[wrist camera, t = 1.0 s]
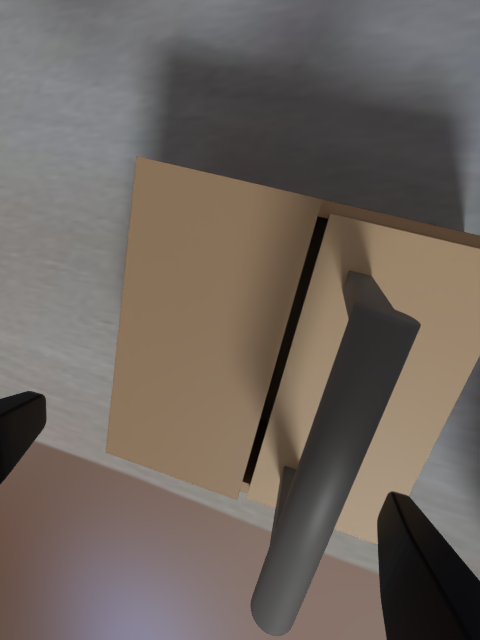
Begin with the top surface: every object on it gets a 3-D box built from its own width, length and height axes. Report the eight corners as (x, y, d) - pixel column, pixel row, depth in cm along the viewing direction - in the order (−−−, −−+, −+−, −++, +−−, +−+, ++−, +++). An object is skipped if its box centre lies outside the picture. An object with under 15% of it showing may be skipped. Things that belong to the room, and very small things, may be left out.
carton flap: (518, 257, 12) (726, 315, 6) (380, 534, 17) (415, 731, 10) (329, 213, 13) (336, 222, 7) (248, 488, 17) (208, 645, 11)
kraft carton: (464, 233, 17) (539, 249, 11) (367, 457, 22) (383, 553, 16) (196, 171, 19) (136, 156, 13) (161, 389, 24) (105, 452, 18)
